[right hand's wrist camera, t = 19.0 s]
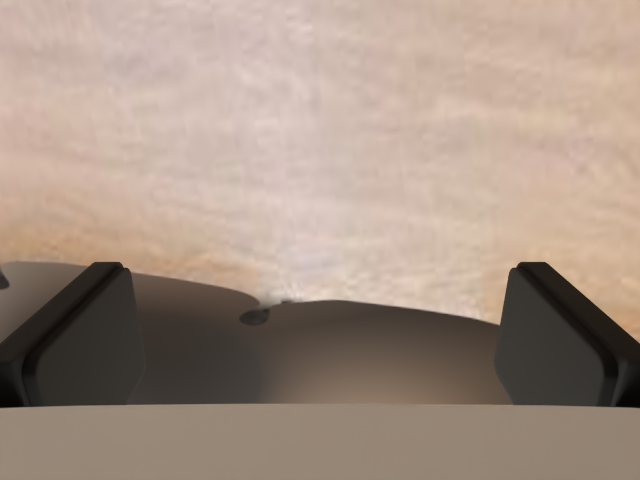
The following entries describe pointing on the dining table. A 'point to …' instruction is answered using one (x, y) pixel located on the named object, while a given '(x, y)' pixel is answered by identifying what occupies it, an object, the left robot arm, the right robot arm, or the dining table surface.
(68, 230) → the dining table surface
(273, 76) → the dining table surface
